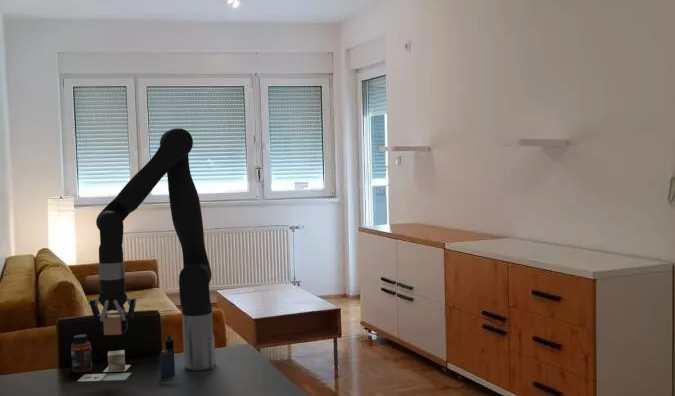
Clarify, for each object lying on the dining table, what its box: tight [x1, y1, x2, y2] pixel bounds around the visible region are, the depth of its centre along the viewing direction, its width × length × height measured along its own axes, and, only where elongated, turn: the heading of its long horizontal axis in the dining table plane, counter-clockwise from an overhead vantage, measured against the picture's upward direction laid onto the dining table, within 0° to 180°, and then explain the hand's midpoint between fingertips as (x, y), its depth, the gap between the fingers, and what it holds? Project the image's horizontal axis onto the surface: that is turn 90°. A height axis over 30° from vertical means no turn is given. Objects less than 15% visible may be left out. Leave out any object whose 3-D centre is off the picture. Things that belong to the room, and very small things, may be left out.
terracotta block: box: [103, 314, 123, 336], centre depth 231 cm, size 5×5×5 cm
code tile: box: [77, 373, 107, 382], centre depth 232 cm, size 7×7×1 cm
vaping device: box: [159, 335, 176, 378], centre depth 232 cm, size 3×5×12 cm, turn 155°
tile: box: [102, 364, 132, 373], centre depth 241 cm, size 7×7×1 cm
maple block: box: [107, 349, 126, 371], centre depth 241 cm, size 5×5×5 cm
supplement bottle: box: [70, 333, 93, 373], centre depth 240 cm, size 6×6×11 cm
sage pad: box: [101, 372, 132, 382], centre depth 232 cm, size 7×7×1 cm
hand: (114, 332), depth 231 cm, fingers closed on terracotta block, 5 cm apart
